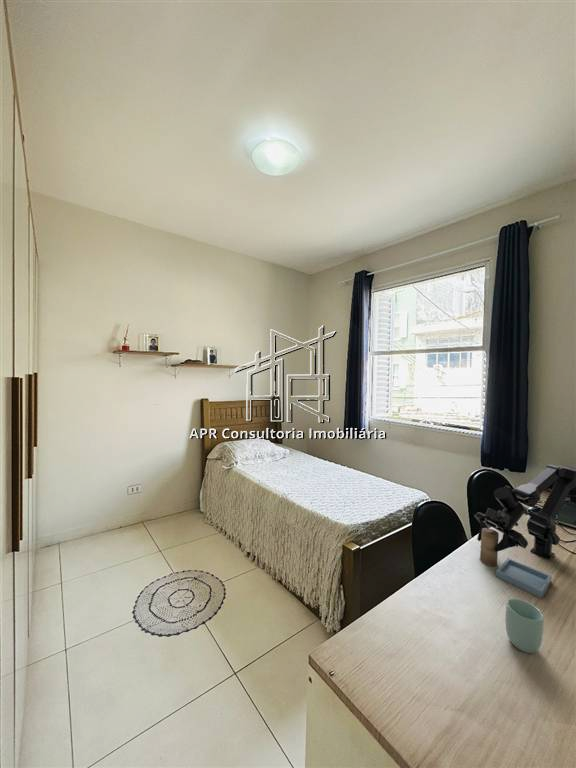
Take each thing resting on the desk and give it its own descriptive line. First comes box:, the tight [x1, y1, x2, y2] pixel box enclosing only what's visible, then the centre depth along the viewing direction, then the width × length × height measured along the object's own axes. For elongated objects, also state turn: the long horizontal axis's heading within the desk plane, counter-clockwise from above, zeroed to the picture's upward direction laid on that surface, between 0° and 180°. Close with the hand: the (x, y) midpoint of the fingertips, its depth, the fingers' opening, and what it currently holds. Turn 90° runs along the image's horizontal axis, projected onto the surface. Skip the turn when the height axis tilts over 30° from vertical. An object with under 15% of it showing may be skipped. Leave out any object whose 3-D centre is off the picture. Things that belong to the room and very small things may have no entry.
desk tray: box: [495, 557, 553, 599], centre depth 109 cm, size 13×13×2 cm
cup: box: [505, 598, 545, 654], centre depth 81 cm, size 8×8×10 cm
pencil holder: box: [479, 528, 500, 567], centre depth 118 cm, size 6×6×12 cm
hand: (486, 545), depth 118 cm, fingers open, 7 cm apart
